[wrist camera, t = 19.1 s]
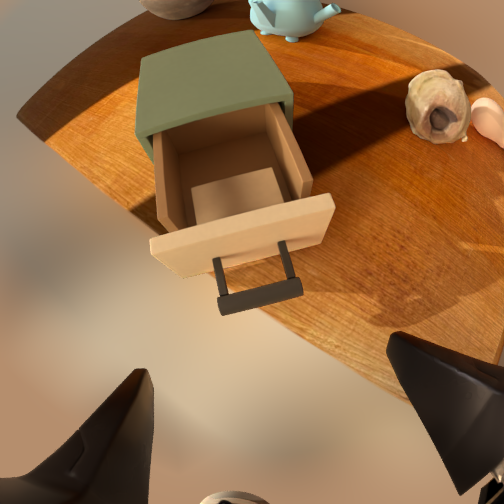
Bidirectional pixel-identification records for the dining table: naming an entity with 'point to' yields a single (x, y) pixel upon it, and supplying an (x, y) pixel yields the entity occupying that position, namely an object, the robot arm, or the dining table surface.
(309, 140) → the dining table surface
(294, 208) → the drawer
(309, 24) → the teapot
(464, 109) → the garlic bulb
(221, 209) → the beige rectangular block
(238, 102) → the cabinet
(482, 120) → the light bulb
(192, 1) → the vase
